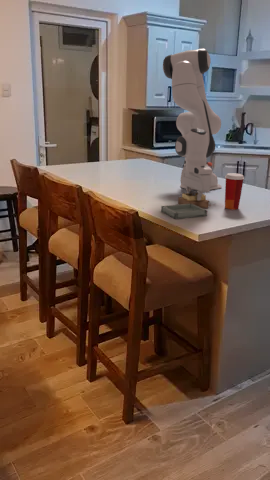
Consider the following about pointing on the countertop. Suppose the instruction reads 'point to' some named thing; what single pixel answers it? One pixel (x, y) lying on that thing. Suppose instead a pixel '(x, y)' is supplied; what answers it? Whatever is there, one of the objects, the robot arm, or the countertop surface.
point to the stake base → (194, 202)
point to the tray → (183, 211)
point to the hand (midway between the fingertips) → (193, 198)
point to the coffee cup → (233, 190)
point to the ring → (192, 197)
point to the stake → (192, 192)
